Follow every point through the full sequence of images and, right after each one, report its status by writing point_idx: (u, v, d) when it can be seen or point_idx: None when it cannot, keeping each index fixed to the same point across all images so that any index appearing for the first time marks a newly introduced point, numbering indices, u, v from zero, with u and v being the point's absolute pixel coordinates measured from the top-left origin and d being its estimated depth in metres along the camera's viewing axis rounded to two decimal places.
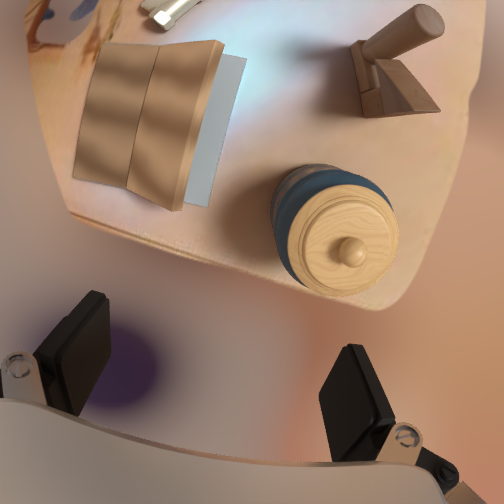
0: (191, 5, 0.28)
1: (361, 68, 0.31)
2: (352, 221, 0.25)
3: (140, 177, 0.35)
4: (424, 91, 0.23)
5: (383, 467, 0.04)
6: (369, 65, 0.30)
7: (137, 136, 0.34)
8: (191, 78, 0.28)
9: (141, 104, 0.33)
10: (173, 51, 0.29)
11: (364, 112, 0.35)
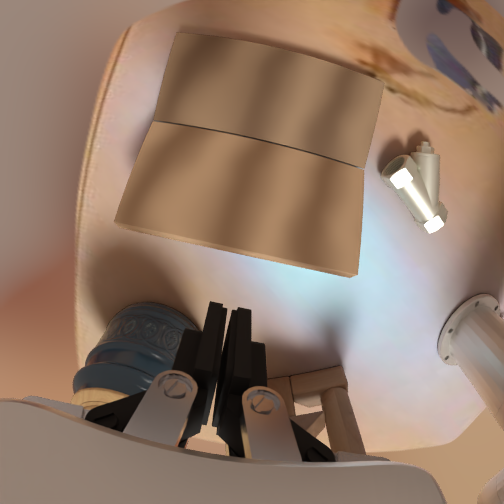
0: (410, 211, 0.27)
1: (315, 385, 0.34)
2: None
3: (164, 150, 0.24)
4: None
5: (383, 467, 0.04)
6: (319, 393, 0.34)
7: (227, 137, 0.25)
8: (305, 239, 0.23)
9: (277, 141, 0.25)
10: (351, 197, 0.25)
11: (268, 383, 0.37)
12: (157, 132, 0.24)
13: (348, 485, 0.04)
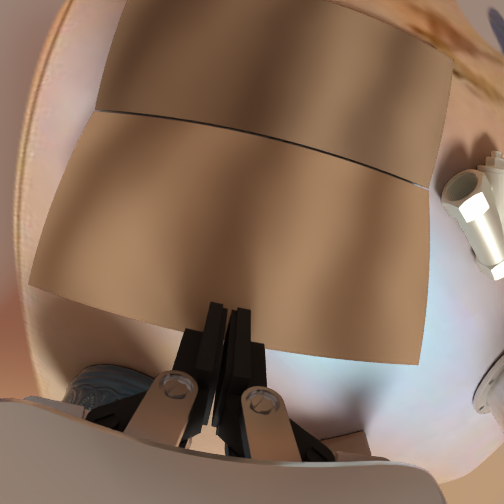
0: (475, 250, 0.17)
1: None
2: None
3: (104, 159, 0.13)
4: None
5: (383, 467, 0.04)
6: None
7: (211, 132, 0.14)
8: (345, 318, 0.13)
9: (296, 140, 0.15)
10: (414, 237, 0.14)
11: None
12: (98, 129, 0.14)
13: (348, 485, 0.04)
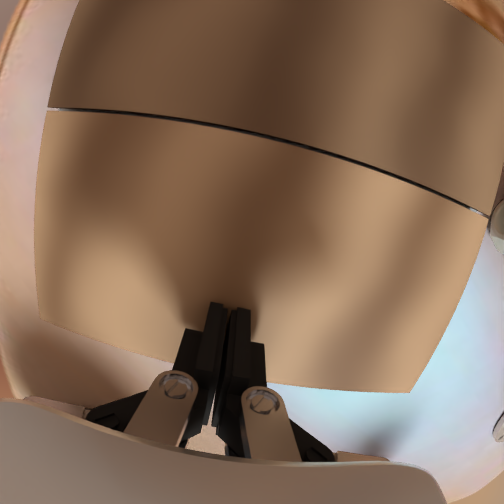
0: None
1: None
2: None
3: (73, 185, 0.10)
4: None
5: (383, 467, 0.04)
6: None
7: (204, 137, 0.10)
8: (347, 360, 0.13)
9: (330, 147, 0.10)
10: (451, 279, 0.11)
11: None
12: (56, 139, 0.10)
13: (348, 485, 0.04)
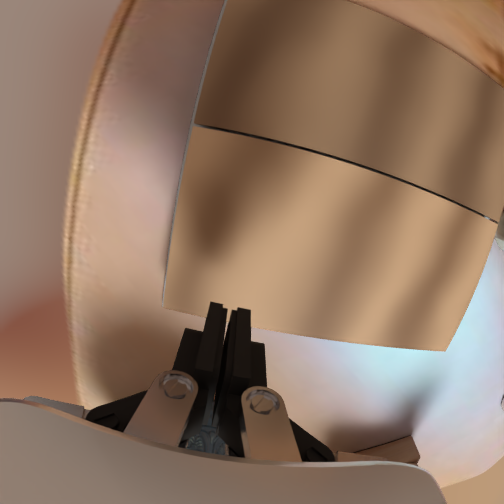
0: None
1: None
2: None
3: (222, 192, 0.14)
4: None
5: (383, 467, 0.04)
6: None
7: (334, 167, 0.14)
8: (408, 323, 0.17)
9: (408, 178, 0.14)
10: (474, 265, 0.16)
11: None
12: (205, 152, 0.14)
13: (348, 485, 0.04)
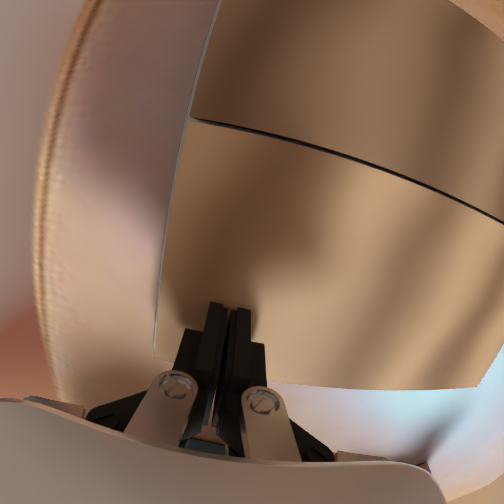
0: None
1: None
2: None
3: (230, 216, 0.10)
4: None
5: (383, 467, 0.04)
6: None
7: (382, 182, 0.10)
8: (446, 364, 0.13)
9: (466, 198, 0.10)
10: None
11: None
12: (206, 158, 0.10)
13: (348, 485, 0.04)
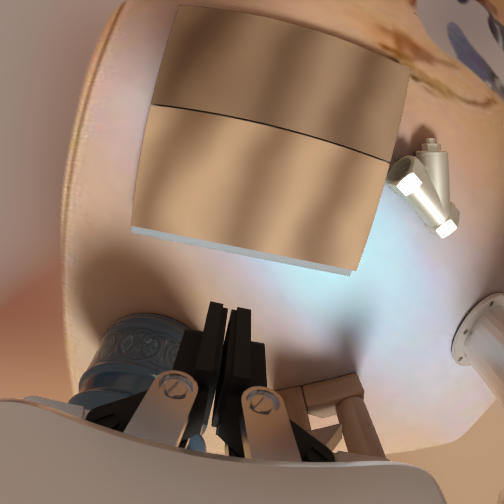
0: (420, 216, 0.25)
1: (330, 395, 0.31)
2: None
3: (168, 145, 0.21)
4: None
5: (383, 467, 0.04)
6: (334, 403, 0.31)
7: (239, 124, 0.21)
8: (313, 240, 0.25)
9: (296, 129, 0.21)
10: (368, 196, 0.24)
11: (279, 394, 0.33)
12: (158, 120, 0.21)
13: (348, 485, 0.04)
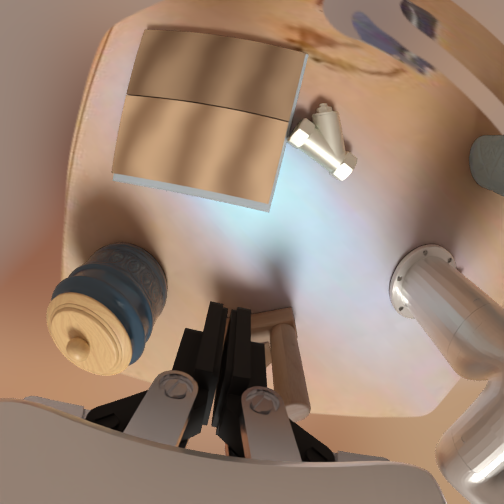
0: (320, 164, 0.34)
1: (264, 321, 0.40)
2: (100, 345, 0.27)
3: (136, 119, 0.31)
4: None
5: (383, 467, 0.04)
6: (268, 329, 0.40)
7: (179, 104, 0.31)
8: (231, 179, 0.34)
9: (216, 104, 0.31)
10: (272, 146, 0.33)
11: None
12: (130, 104, 0.31)
13: (348, 485, 0.04)
